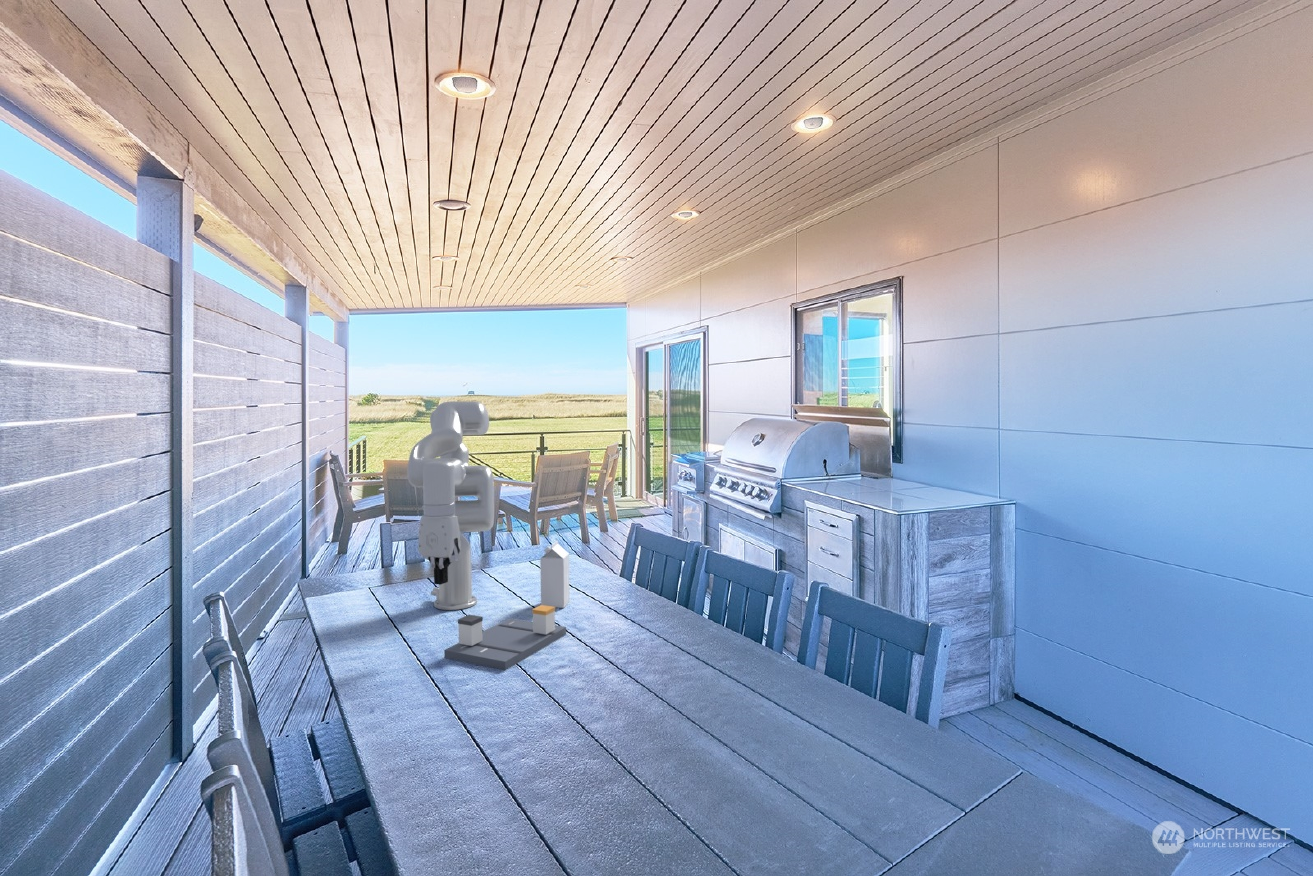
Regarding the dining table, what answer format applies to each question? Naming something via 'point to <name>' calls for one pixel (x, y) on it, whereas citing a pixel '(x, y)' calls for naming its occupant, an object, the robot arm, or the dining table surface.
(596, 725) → the dining table surface
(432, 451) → the robot arm
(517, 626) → the console
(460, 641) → the block
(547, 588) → the milk carton
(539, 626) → the fader orange
